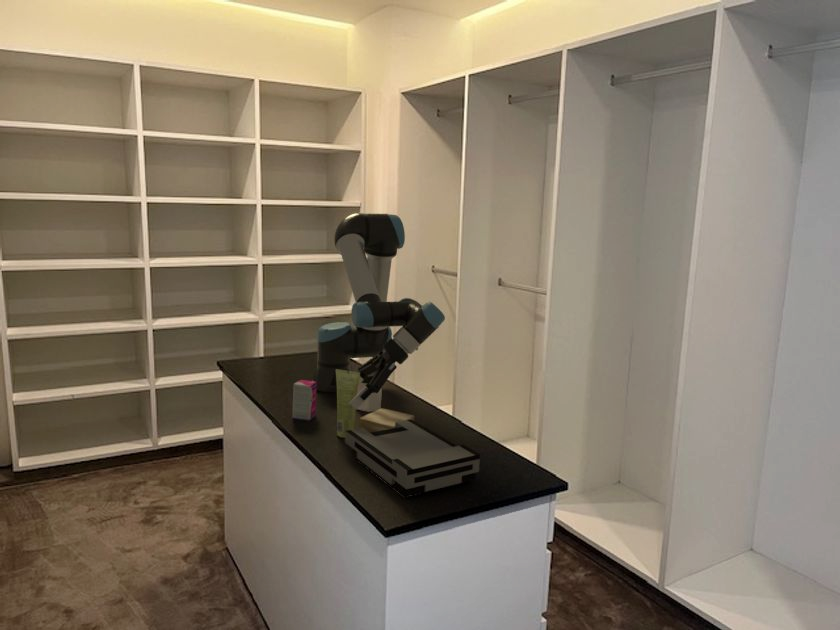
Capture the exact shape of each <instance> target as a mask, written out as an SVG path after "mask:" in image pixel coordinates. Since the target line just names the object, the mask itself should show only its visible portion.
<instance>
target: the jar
mask: <svg viewBox="0 0 840 630" xmlns="http://www.w3.org/2000/svg"><path fill="white" fill-rule="evenodd" d="M375 372H376V371H375ZM375 372H373V373H372V374H370V375H368V376H366V379H365V380H363V381H362V382H361V383H360V384H359V385H358V391H357V394H358V393H359V392H360V391H361V390H362V389H363V388H364V387H365V385H366V384H369V383H370V381H371V379H372V378H373V376H374V374H375ZM382 389H383V388H381V389H380V391H379V392H378V393H372V394H371V395H370V396H369V397H368V398H367V399H366V400H365V401H364V402H363V403H362V404H361V405H360V406H359V407H358V408H357V409H356V410H359V411H362V412H367V413H372V412H374V411H376V410H378V409H380V408H382V393H383V392H382V391H383V390H382Z"/></svg>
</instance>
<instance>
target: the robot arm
mask: <svg viewBox="0 0 840 630" xmlns="http://www.w3.org/2000/svg"><path fill="white" fill-rule="evenodd" d="M405 235H406V234H405V227H404V223H403V221H402V219H401V218H400V216H399V215H396V214H389V213H361V212H357V213H351V214H349V215H347V216H346V217H344V218H343V219H342V220H341V221H340V223H339V224H338V225H337V228H336V230H335V233H334V239H333V240H334V247H335V249H336V252H337V254H339V255H340V256H341V260H342V261H343V265H344V268H345V273H346V274H347V278H348V283H349V285H350V288H351V292H352V295H353V299H354V301H355V302H354V303H353V304H352V307H351V312H350V315H351V321H352V324H353V326H351V323H349V322H347V321H343V322H341V321H337V322H331V323H325V324H324V325H322V326H320V327H319V328H318V331H317V337H316V338H317V339H316V341H317V351H316V352H317V363H316V365H317V366H316V368H315V372H314V375H313V378H312V380H311V381H315V382H317V388H316V391H318V392H323V393H337V381H336V369H338V370H345V371H352V370H351V367H350V360H351V359H363V358H365V359H366V358H370V359H369V360H367V361H365V362H364V363H363V364H361V365H360V366H359V367H358V368H357V372H360V377H359V383H358V385H359V384H360V383H361V382H362V381H363V380H365V379H366V376H368V375H370V374H372V373H373V372H375V371H376V372H375V374H374V376H373V378H372V379H371V381H370V383H369V384H366V385H365V387H364V388H363V389H362V390H361V391H360V392H359V393H358V394H357V395H356V396H355V397H354V398H353V399H352V400H351V401H350V402H349V403H350V404H351V405H352V406H353V407H354V408H355V409H356V410H357V408H358V407H359V406H360V405H361V404H362V403H363V402H364V401H365V400H366V399H367V398H368V397H369V396H370V395H371V394H372V393H378V392H379V391H380V389H383V387H384V386H385V384H386V382H387V381H388V379H389V377H390V376H391V375H392V374H393V372H395V370H396V369H397V368H398V366H397V365H396V364H395V363H397V364H399V365H402V364H403V363H404V362H405V361H406V360H408V358H409V355H412V354H413V353H414V352H415V351H418V350H419V347H420V346H421V345H422V344H423V343H425V341H426V340H427V339H428V338H430V336H431V335H432V334H433V333H435V331H436V330H438V329H439V328H440V326H441V325H442V323H443V322H445V320H446V316H445V314H444V313H443V312H442V311H441V310H440V309H439V307H438V306H436V304H434V303H433V302H431V301H427V302H426V303H424V304H423V305H422V304H421V303H419V301H417V300H415V299H412V298H409V297H405V298H402V299H400V300H399V301H388V293H389V284H390V276H391V268H392V259H394V258H395V257H396V256H397V253H398V250H401V249H402V248H403V247H404V246H405V237H406V236H405ZM391 327H400V328H399V329H398V330H397V331H396V332H395V333H394V334H393V332H392V328H391Z"/></svg>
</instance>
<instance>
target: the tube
mask: <svg viewBox="0 0 840 630" xmlns="http://www.w3.org/2000/svg"><path fill="white" fill-rule="evenodd" d="M359 377H360V372H358V371H352V370H351V371H345V370H338V369H336V381H337V392H336V399H337V400H336V410H337V411H336V412H337V413H336V414H337V415H336V436H338V437H339V438H344V439H345V431H347V430H352V429H355V426H356V424H355V423H356V413H357V412H356V410H357V409H355V408H354V407H353V406H352V405H351V404H350V403H349V402H350V401H351V400H352V399H353V398H354V397H355V396H356V395H357V391H358V383H359Z"/></svg>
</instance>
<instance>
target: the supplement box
mask: <svg viewBox="0 0 840 630" xmlns="http://www.w3.org/2000/svg"><path fill="white" fill-rule="evenodd" d="M292 385H293V388H292V389H293V391H292V392H293V393H292V414H291V415H292V418H291V420H293V421H300V422H301V421H302V422H310V421H311V420H312V419H313V418H315V417H316V416H317V415H316V413H317V412H316V409H317V390H316V388H317V382H315V381H312V380H306V379H300V380H298V381H296V382H294V383H293V384H292Z"/></svg>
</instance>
